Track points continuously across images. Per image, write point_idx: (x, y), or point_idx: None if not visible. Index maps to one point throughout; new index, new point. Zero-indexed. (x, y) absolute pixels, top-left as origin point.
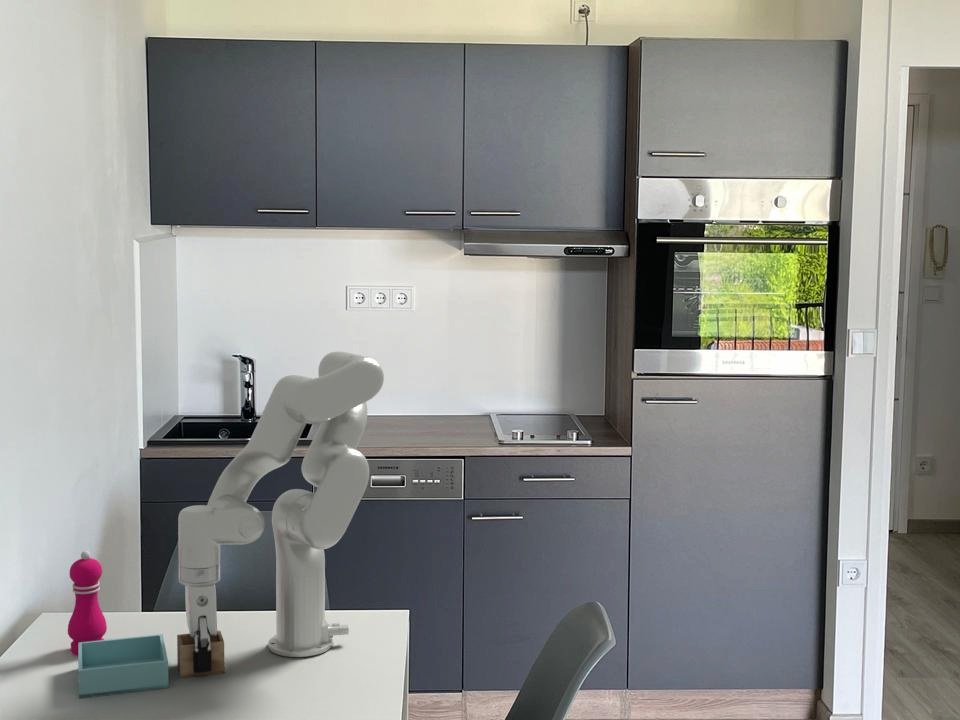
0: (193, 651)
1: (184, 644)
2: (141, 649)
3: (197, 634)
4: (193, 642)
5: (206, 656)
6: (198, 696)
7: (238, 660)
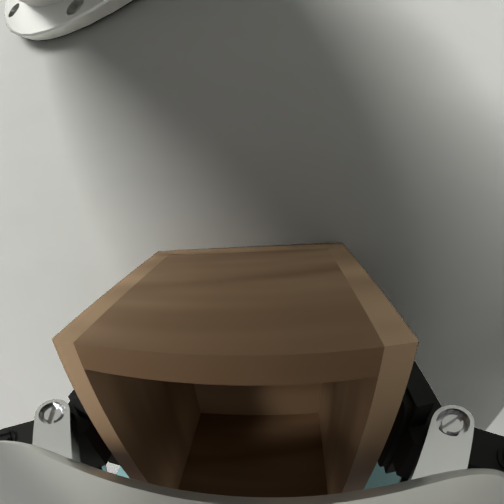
0: (391, 472)
1: (177, 466)
2: None
3: (142, 468)
4: (164, 445)
5: (435, 402)
6: (496, 342)
7: (171, 155)
